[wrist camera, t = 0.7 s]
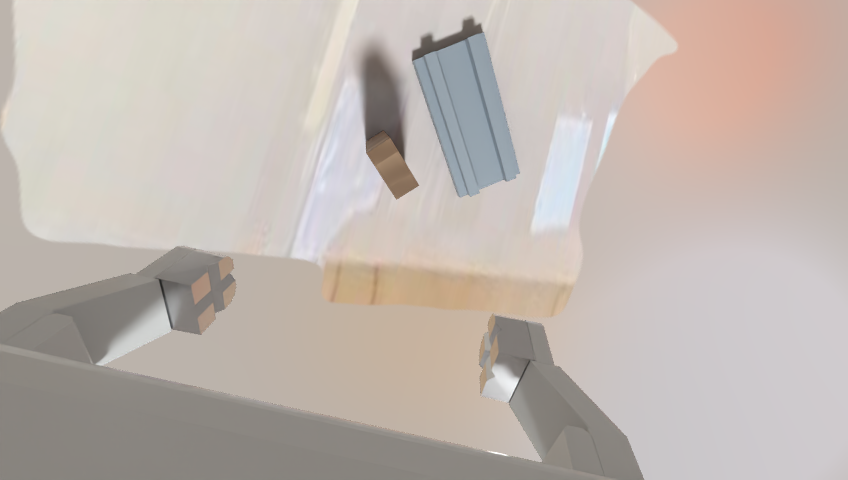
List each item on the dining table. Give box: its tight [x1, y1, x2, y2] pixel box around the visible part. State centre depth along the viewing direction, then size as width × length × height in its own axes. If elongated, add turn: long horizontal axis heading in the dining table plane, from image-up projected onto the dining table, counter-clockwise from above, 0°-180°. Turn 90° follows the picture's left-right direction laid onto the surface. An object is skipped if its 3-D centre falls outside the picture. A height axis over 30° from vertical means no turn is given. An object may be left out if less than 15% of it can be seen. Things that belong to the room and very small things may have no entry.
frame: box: [366, 130, 419, 200], centre depth 44 cm, size 6×3×14 cm, turn 31°
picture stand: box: [413, 32, 520, 197], centre depth 49 cm, size 20×10×3 cm, turn 21°
